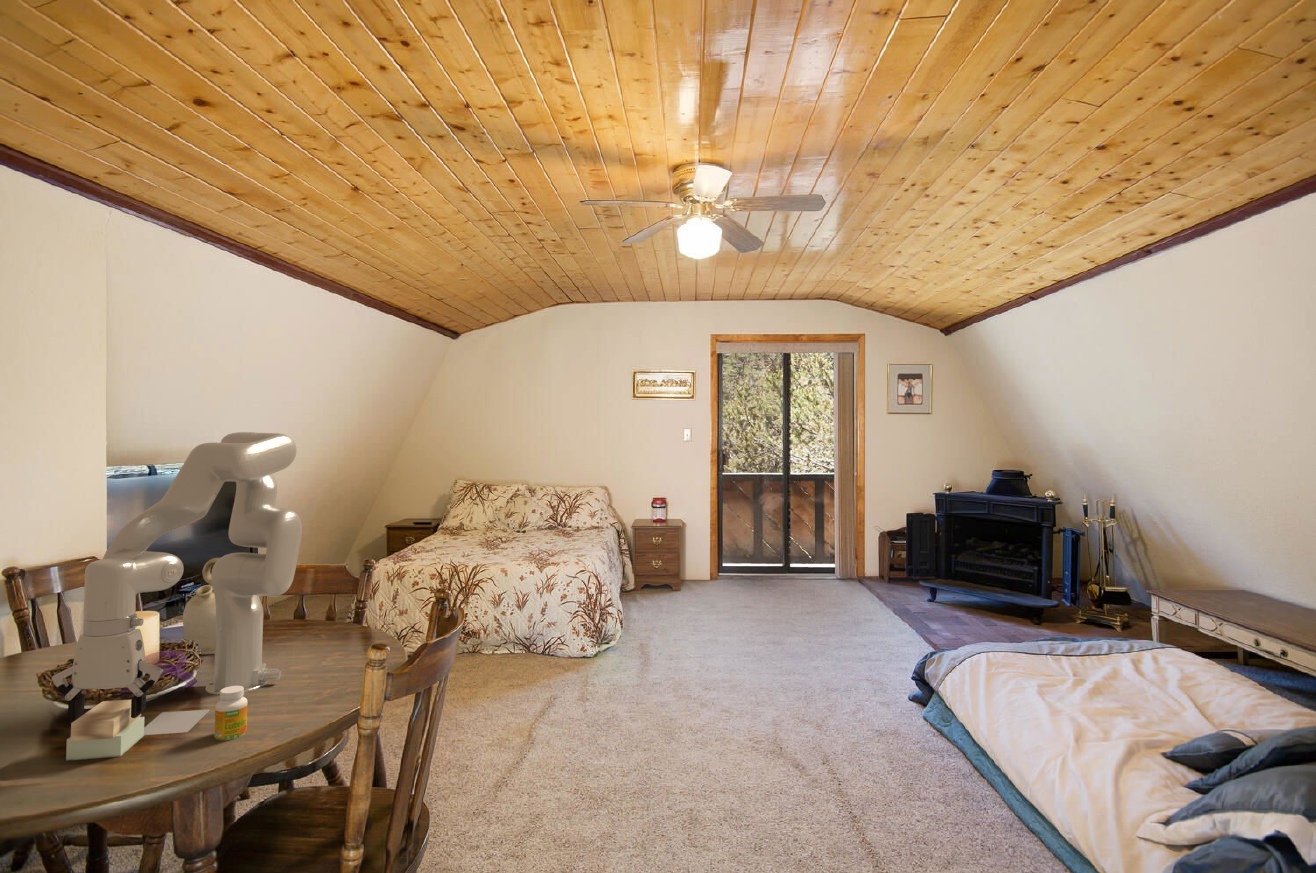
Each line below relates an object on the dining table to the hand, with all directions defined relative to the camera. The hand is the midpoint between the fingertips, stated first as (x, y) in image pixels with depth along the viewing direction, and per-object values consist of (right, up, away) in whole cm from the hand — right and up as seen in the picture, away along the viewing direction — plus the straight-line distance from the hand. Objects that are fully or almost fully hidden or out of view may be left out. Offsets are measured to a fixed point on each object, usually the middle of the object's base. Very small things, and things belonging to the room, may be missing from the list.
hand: (107, 717), depth 125 cm
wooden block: (0, -2, 0) cm, 2 cm away
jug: (-19, -6, +59) cm, 62 cm away
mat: (+4, -7, +11) cm, 14 cm away
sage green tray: (0, -7, 0) cm, 6 cm away
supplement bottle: (+19, -7, +7) cm, 21 cm away
